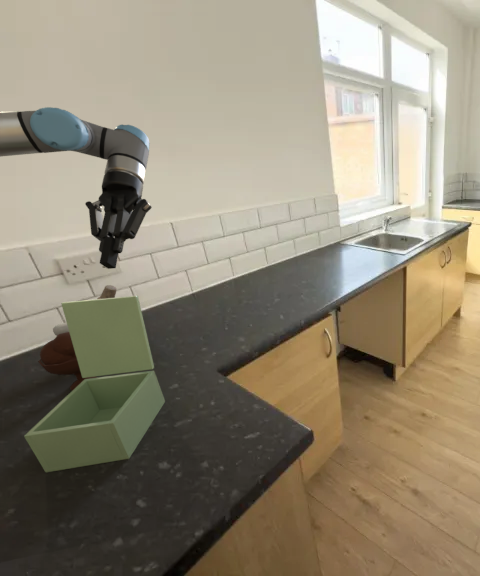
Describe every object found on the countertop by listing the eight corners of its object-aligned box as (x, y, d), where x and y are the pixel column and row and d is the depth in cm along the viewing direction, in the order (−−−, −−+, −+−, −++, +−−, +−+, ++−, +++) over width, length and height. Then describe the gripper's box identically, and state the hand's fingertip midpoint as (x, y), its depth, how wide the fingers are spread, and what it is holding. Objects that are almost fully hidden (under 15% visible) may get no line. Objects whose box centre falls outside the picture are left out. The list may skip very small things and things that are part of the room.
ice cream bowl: (117, 366, 87) (98, 318, 82) (101, 392, 78) (77, 339, 72) (69, 376, 84) (45, 326, 78) (45, 404, 74) (16, 349, 69)
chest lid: (135, 296, 67) (138, 295, 67) (60, 303, 64) (64, 302, 65) (152, 369, 70) (154, 367, 71) (82, 378, 68) (85, 376, 69)
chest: (129, 458, 60) (113, 422, 56) (45, 472, 57) (23, 436, 54) (165, 401, 74) (154, 370, 71) (99, 410, 72) (84, 379, 68)
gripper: (161, 189, 82) (150, 270, 73) (104, 192, 80) (86, 275, 71) (145, 168, 75) (130, 254, 67) (82, 170, 73) (58, 259, 64)
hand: (107, 265), depth 69 cm, fingers closed
